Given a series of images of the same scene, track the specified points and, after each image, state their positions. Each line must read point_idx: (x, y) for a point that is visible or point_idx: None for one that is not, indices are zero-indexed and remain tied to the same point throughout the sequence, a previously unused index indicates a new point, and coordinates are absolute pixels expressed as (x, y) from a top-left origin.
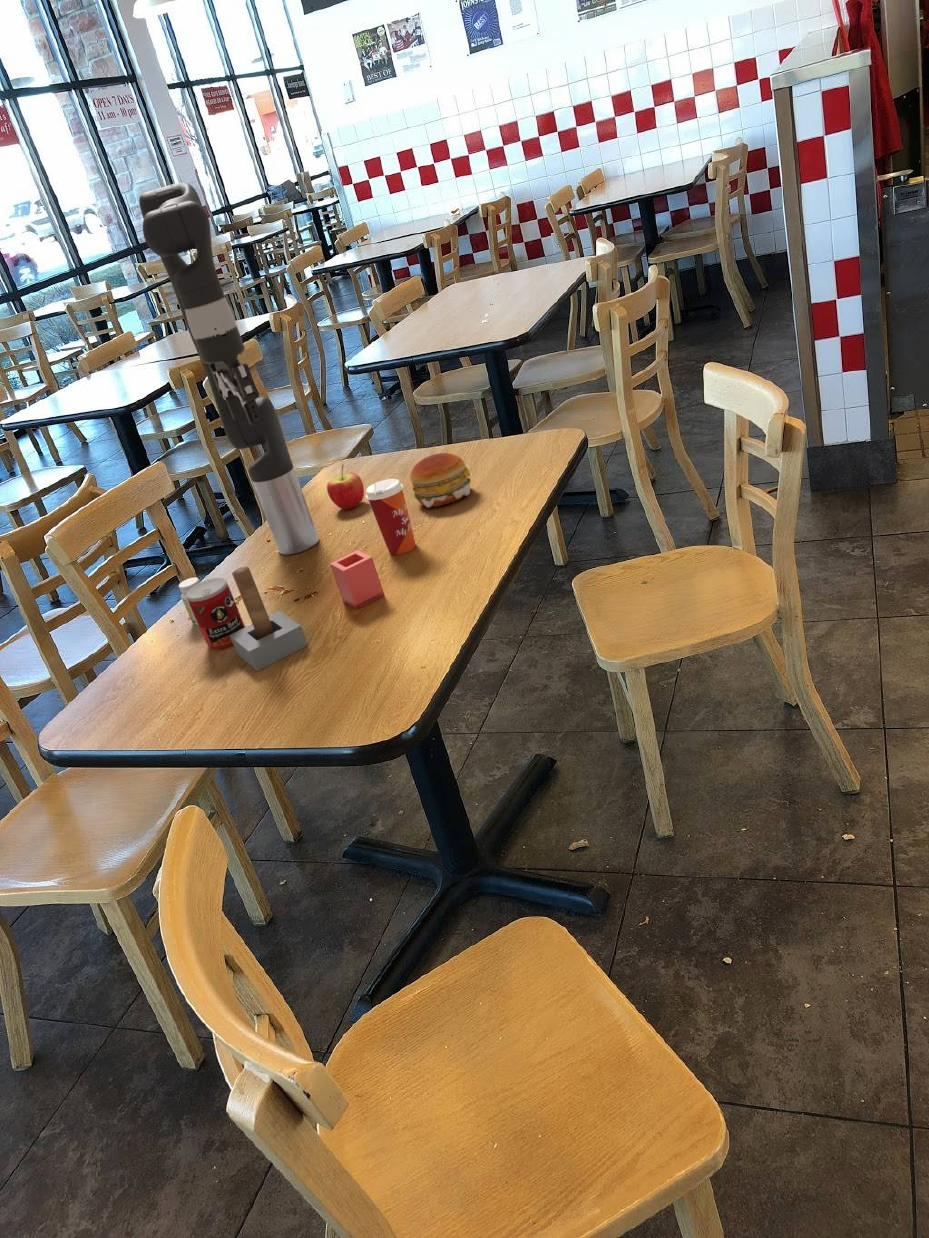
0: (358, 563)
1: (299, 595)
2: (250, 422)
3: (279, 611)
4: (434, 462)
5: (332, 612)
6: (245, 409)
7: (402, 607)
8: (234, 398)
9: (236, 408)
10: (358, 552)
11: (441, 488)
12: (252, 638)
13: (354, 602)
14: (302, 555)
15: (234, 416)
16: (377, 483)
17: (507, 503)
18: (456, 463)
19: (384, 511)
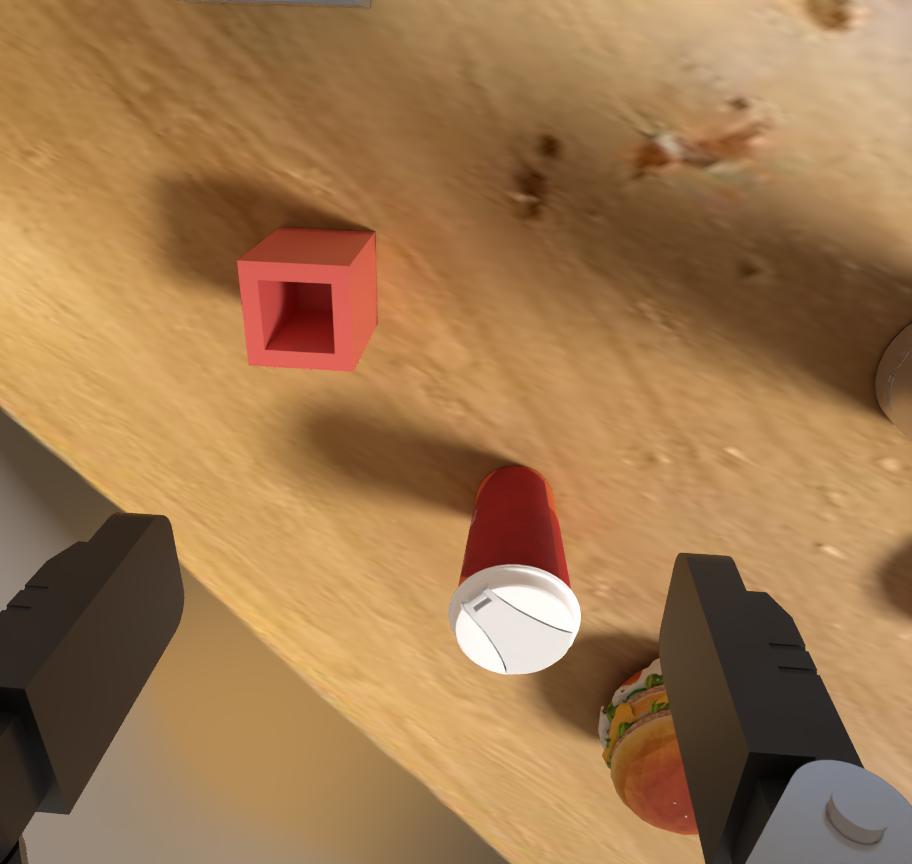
0: (243, 317)
1: (573, 170)
2: (103, 524)
3: (348, 1)
4: (669, 791)
5: (337, 172)
6: (19, 639)
7: (172, 305)
8: (726, 830)
9: (693, 689)
10: (331, 363)
11: (620, 718)
12: None
13: (273, 232)
14: (860, 335)
15: (687, 581)
16: (557, 637)
17: (464, 725)
18: (628, 804)
19: (476, 552)
